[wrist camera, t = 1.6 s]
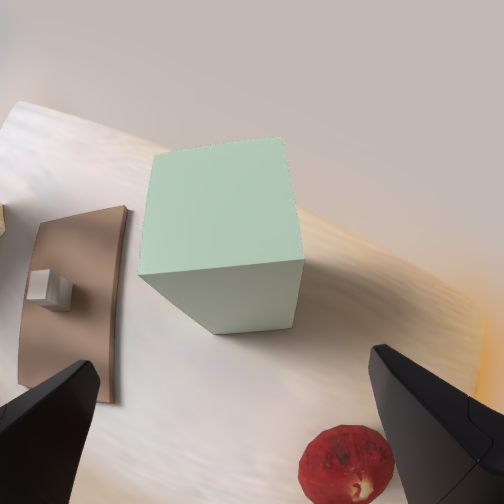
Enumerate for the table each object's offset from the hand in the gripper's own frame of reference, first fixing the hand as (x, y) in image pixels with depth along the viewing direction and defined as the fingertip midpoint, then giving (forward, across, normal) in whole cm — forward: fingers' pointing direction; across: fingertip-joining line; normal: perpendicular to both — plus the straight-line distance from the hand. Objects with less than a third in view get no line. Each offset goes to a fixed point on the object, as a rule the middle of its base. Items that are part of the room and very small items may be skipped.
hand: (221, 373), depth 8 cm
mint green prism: (+13, 0, +4) cm, 14 cm away
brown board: (+14, +18, +4) cm, 23 cm away
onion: (+4, -5, +14) cm, 15 cm away
